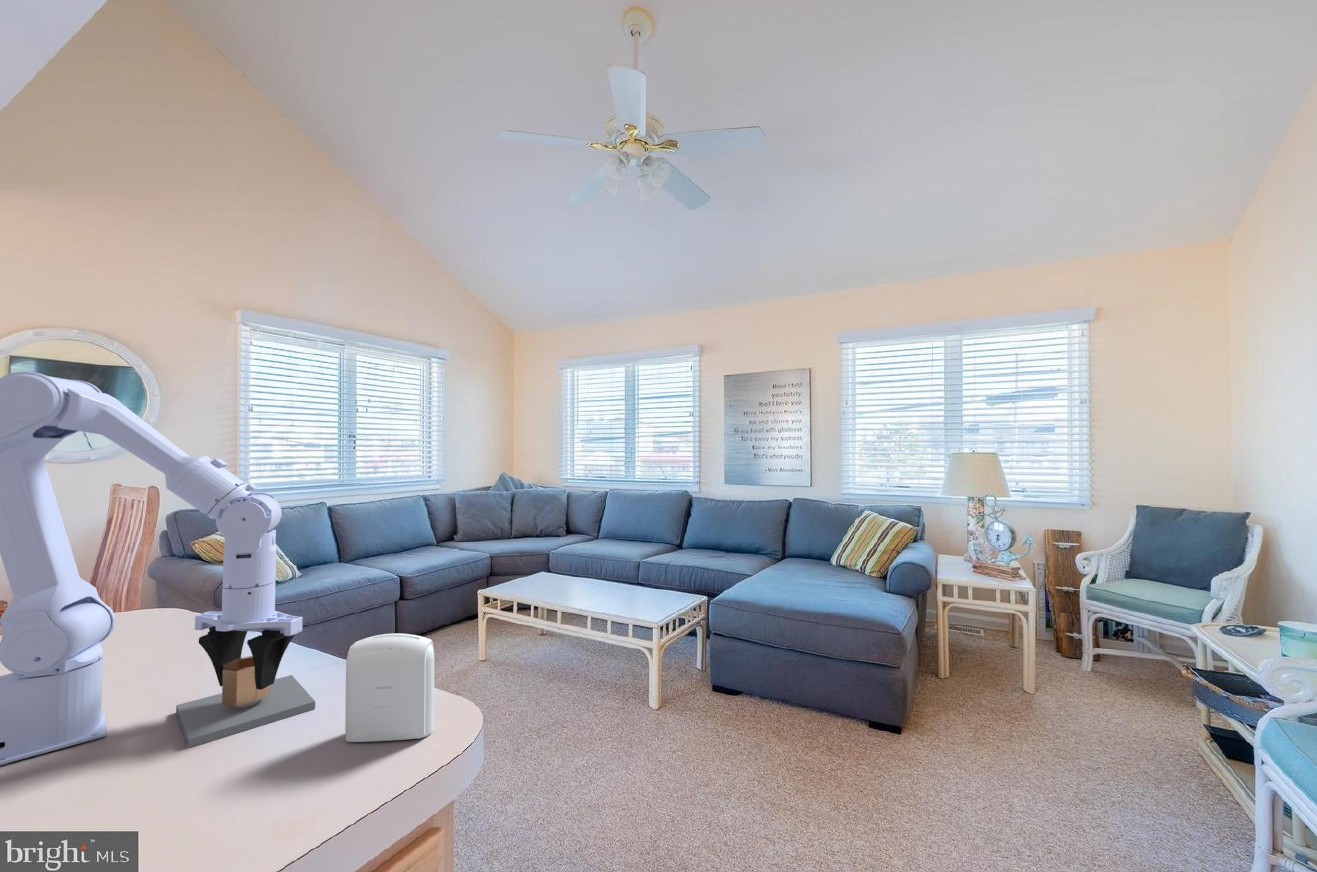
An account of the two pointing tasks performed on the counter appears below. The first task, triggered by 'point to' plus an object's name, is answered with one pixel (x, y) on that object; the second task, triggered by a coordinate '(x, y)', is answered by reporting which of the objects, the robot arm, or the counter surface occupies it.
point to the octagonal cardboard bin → (241, 683)
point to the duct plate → (241, 712)
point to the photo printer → (389, 688)
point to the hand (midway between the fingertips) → (247, 684)
